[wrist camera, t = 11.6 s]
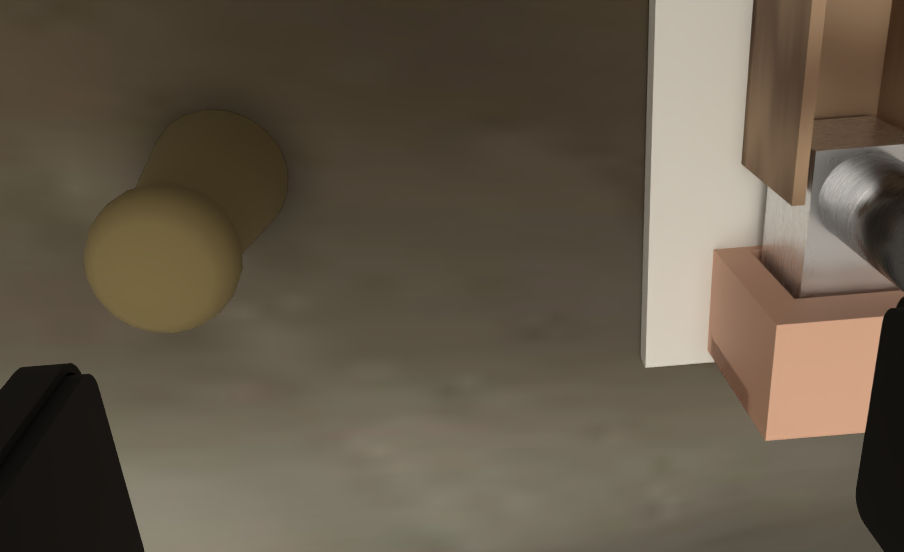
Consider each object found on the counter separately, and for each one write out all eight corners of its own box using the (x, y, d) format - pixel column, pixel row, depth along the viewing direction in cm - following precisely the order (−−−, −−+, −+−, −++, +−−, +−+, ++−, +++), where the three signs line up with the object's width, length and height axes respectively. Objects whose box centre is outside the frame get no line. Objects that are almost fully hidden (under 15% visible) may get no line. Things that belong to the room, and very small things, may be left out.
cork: (135, 116, 37) (31, 202, 27) (275, 102, 37) (224, 182, 27) (167, 246, 39) (84, 369, 29) (298, 233, 39) (260, 350, 29)
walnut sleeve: (759, -82, 34) (820, -76, 29) (910, -94, 34) (997, -90, 29) (741, 164, 38) (791, 206, 33) (876, 153, 38) (947, 193, 33)
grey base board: (651, -75, 34) (657, -74, 34) (995, -102, 35) (1011, -101, 34) (640, 357, 43) (645, 367, 42) (918, 334, 43) (929, 344, 42)
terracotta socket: (713, 249, 39) (776, 325, 33) (886, 235, 39) (985, 307, 33) (707, 350, 42) (765, 440, 35) (870, 336, 42) (960, 424, 35)
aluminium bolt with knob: (773, 123, 36) (915, 215, 26) (872, 115, 36) (1052, 204, 26) (755, 332, 40) (871, 483, 30) (843, 325, 40) (990, 473, 30)
